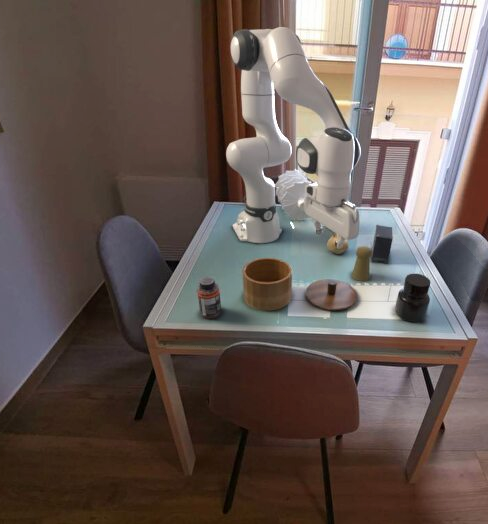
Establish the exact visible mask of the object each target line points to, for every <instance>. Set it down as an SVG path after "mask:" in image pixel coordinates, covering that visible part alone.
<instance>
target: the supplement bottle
mask: <svg viewBox="0 0 488 524" xmlns="http://www.w3.org/2000/svg"><path fill="white" fill-rule="evenodd" d="M196 293H197V300H198V307H199V312H200V316H201V317H203V318H205V319H215V318H216V317H219V316H220V315H221V313H222V302H221V294H220V293H221V292H220V287H219V285H218V284H217V283H216V281H215V278H214V277H213V276H204V277H202V278H200V279H199V285H198V287H197V289H196Z"/></svg>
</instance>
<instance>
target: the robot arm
mask: <svg viewBox="0 0 488 524" xmlns="http://www.w3.org/2000/svg"><path fill="white" fill-rule="evenodd" d="M305 53H306V52H305V51H304V49H303V45H302V42H301V38H300V37H299V35H298V34H296V33H295V32H294V31H293V30H292V29H291V28H289V27H286V26H279V27H276V28H273V29H271V28H265V29H262V28H261V29H248V28H244V29H239V30H236V31H235V32H234V33H233V34H232V37H231V39H230V56H231V59H232V62H233V64H234V65H235V67H236V68H237V69H239V70H241V76H240V96H241V114H242V118H243V120H244V121H245V122H246V123H247V124H248V125H250V126H251V127H253V128H254V130H255V135H256V136H253V137H245V138H239V139H237V140H234V141H232V142H230V143H229V144H228V146H227V148H226V150H225V151H226V152H225V157H226V162H227V164H228V165H229V167H230V168H231V169H233V170H234V171H235V172H237V174H239V176H240V177H241V178H242V180H243V183H244V188H245V195H244V196H243V198H242V201H243V203H244V210H242V211H241V212H240V213H238V214H237V219H236V220H235V223H233V224H232V228H233V231H234V232H235V234H236V236H237V237H238V239H239V241H240V242H248V243H253V244H269V243H272V242H274V241H276V240H278V239H279V238H280V234H281V233H282V231H283V230H282V228H281V227H280V217H279V214H278V212H277V203H276V187H275V183H274V181H273V180H272V179H271V178H270V177H267V176H265V174H264V169H265V168H270V167H277V166H280V165H282V164H284V163H287V162H288V161H289V160H290V158H291V156H292V145H291V143H290V141H289V139H288V138H287V137H286V136H284V134H283V133H282V131H281V130H280V128H279V126H278V123H277V119H276V109H275V108H276V107H275V92H276V93H277V94H278V96H279V97H280V98H282V100H284V101H286V102H288V103H291V104H293V105H297V106H301V107H304V108H306V109H308V110H310V111H313V112H314V113H315V114H316V115H318V117H319V119H320V120H321V122H322V124H323V126H324V128H325V129H323V130H322V132H321V133H319V134H317V135H312V136H308V137H304V138H302V139H301V141H299V143H298V145H297V147H296V152H295V160H296V164H297V166H298V168H299V169H300V170H301V171H302V172H304V173H306V174H310V175H316V176H317V180H316V182H315V183H312V184H310V185H306V186H305V192H306V193H307V194H306V195H305V213H306V215H308V216H309V217H311V218H310V219H312V224H313V227H314V234H316V235H317V236H321V235H323V230H324V229H323V227H324V228H326V227H327V228H326V229H328V230H329V231H332V232H333V233H334V234H338V238H339V240H338V241H335V247H337V248H338V249H340V248H342V247H343V242H344V241H345V240H347V241H350V240H353V239H354V240H355V239H356V238H357V237H358V236H359V234H360V212H359V210H358V208H357V206H356V205H355V204H354V203H352V202H350V196H351V195H350V193H351V187H352V186H351V185H352V180H351V174H352V171H353V169H354V168H355V167H356V166H357V164H358V163H359V161H360V160H361V159H360V158H361V155H362V154H361V153H362V149H361V145H360V142H359V140H358V139H357V137H356V136H355V134H354V133H353V132H352V130H351V129H350V128H349V126H348V124H347V122H346V119H345V118H344V116H343V114H342V112H341V110H340V108H339V106H338V104H337V101H336V100H335V98H334V96H333V94H332V93H331V91H330V89H329V87H328V86H327V85H326V84H324V83H323V82H322V81H321V79H320V78H319V77H318V76H317V75H316V74H315V72H314V71H313V69H312V67H311V65H310V63H309V60H308V58H307V56H306V54H305ZM290 225H291V227H292V229H295V226H294V224H293V222H292V221H290ZM322 226H323V227H322Z"/></svg>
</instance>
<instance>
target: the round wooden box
mask: <svg viewBox="0 0 488 524" xmlns="http://www.w3.org/2000/svg"><path fill="white" fill-rule="evenodd" d="M241 273H242V290H243V291H242V292H243V293H242V294H243V300H244V302H245V304H246V305H247V306H249V307H250V308H252V309H255V310H259V311H265V312H267V311H268V312H269V311H277V310H279V309H282V308H284V307H286V306H287V305H288V304H289V303H290V302H291V300H292V291H293V290H292V289H293V268H292V265H291V264H289V263H288V262H287V261H285V260H282V259H279V258H275V257H261V258H255V259H253V260H251V261H249V262H247V263H246V264H245V265H244V266H243V268H242V271H241Z"/></svg>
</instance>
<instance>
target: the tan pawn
mask: <svg viewBox="0 0 488 524" xmlns="http://www.w3.org/2000/svg"><path fill="white" fill-rule="evenodd" d="M355 254H356V259H355V262H354V266H353V270H352V273H351V278H353V279H354V280H356V281H358V282H366V281H368V280H369V279H370V268H371V267H370V265H371V264H370V263H371V256H372V248H370V247H369V246H366V245H361V246H359V247H358V248H356V250H355Z"/></svg>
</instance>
